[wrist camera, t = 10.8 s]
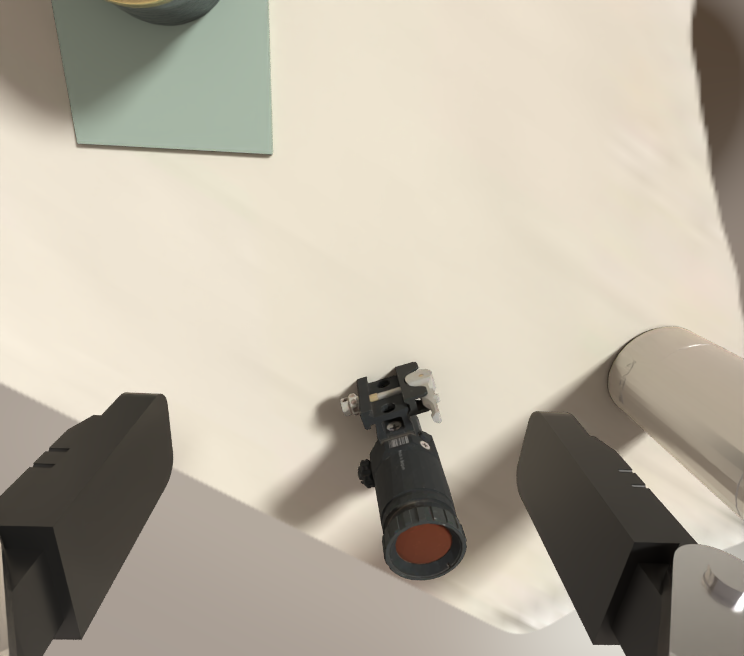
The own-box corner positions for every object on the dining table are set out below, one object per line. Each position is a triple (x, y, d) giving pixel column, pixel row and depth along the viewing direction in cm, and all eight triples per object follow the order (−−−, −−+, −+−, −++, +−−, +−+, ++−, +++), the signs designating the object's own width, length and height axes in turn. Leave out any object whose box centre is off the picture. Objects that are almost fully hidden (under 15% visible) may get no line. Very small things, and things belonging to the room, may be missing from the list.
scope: (470, 461, 26) (499, 574, 29) (425, 357, 38) (449, 445, 42) (337, 499, 26) (383, 607, 30) (336, 383, 39) (369, 469, 43)
